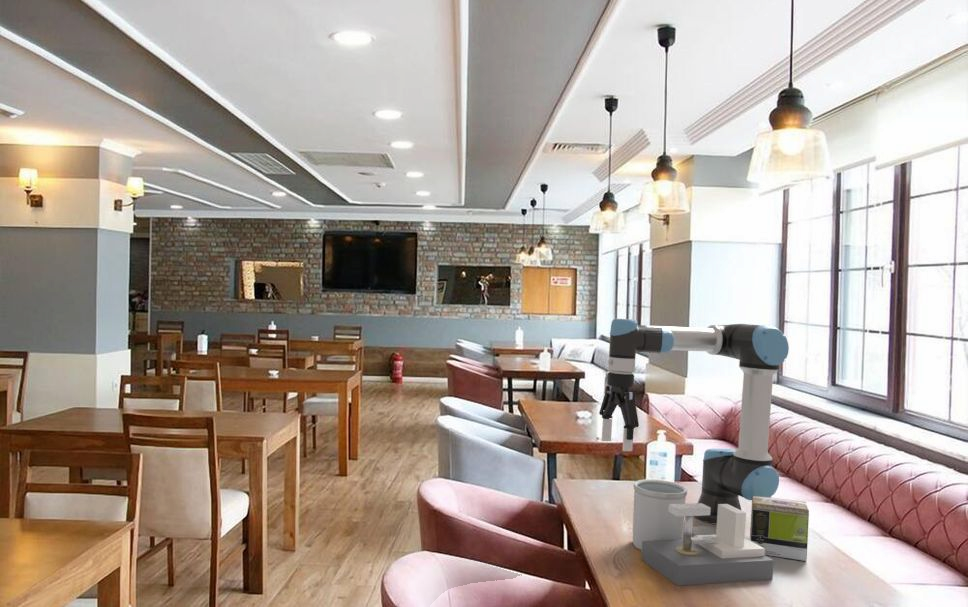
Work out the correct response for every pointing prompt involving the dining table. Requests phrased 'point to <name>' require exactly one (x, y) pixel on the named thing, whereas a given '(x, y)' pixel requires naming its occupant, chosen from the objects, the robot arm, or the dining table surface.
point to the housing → (702, 564)
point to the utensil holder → (657, 511)
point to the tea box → (780, 527)
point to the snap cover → (732, 535)
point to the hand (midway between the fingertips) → (616, 445)
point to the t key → (691, 522)
